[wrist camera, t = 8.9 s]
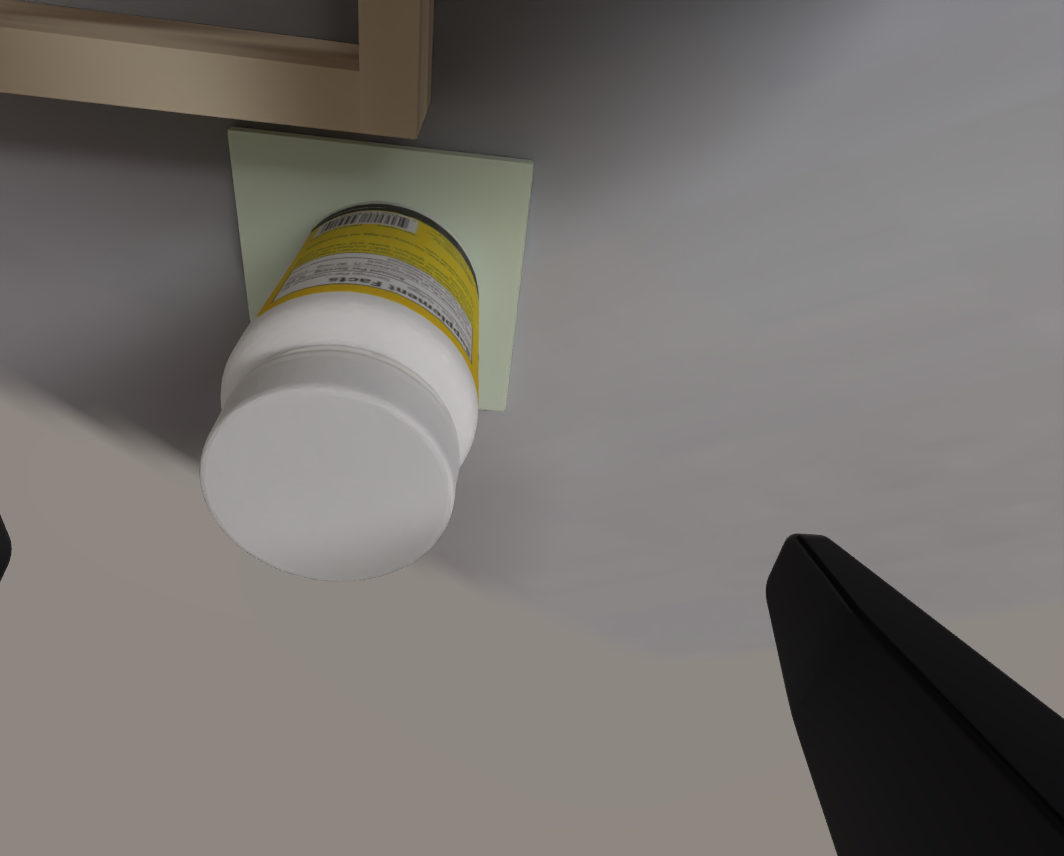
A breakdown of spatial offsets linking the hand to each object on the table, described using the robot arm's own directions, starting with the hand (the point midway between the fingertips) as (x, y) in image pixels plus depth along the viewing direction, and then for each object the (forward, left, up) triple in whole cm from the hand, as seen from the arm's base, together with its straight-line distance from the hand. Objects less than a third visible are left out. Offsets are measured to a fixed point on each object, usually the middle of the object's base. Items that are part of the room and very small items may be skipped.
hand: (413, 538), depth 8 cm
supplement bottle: (+2, +2, -11) cm, 11 cm away
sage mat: (+2, +2, -11) cm, 12 cm away
